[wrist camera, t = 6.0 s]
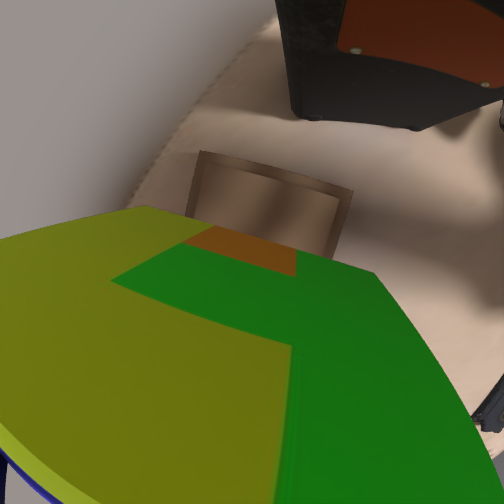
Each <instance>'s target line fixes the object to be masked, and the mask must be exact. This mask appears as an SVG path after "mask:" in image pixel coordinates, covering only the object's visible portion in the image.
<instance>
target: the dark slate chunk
mask: <svg viewBox="0 0 504 504" xmlns="http://www.w3.org/2000/svg"><path fill="white" fill-rule="evenodd" d="M471 418H472V421H473V422H480V423H481V431H483V432H494V433H499V432H501V431H502V429H503V428H504V374H503V376H502V377H501V379H500V380H499V382H498V383H497V384H496V386H495V387H494V388H493V390H492V391H491V393H490V394H489V395H488V396H487V398H486V399H485V400H484V402H483V403H482V404H481V405H480V407H479V408H478V409H477V410H476V411H475V413H474V414H473V415H472V416H471Z"/></svg>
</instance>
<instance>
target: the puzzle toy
mask: <svg viewBox="0 0 504 504" xmlns="http://www.w3.org/2000/svg"><path fill="white" fill-rule="evenodd" d="M0 453H1V454H2V455H3V456H4V457H5V459H6V460H7V461H8V463H9V464H10V465H11V467H12V468H13V469H14V470H15V471H16V472H17V473H18V474H19V475H20V476H21V477H22V478H23V479H24V480H25V481H26V482H27V483H28V484H29V485H30V486H31V487H32V488H33V489H34V490H35V491H36V492H38V493H39V494H40V495H41V496H43V497H44V498H45V499H46V500H48V501H49V502H50V503H51V504H504V490H503V487H502V484H501V482H500V479H499V477H498V474H497V472H496V469H495V467H494V465H493V462H492V460H491V458H490V455H489V453H488V451H487V449H486V447H485V445H484V443H483V440H482V438H481V436H480V434H479V432H478V430H477V428H476V426H475V425H474V423H473V421H472V419H471V417H470V415H469V413H468V411H467V410H466V408H465V406H464V404H463V402H462V401H461V399H460V397H459V395H458V394H457V392H456V390H455V389H454V387H453V385H452V384H451V382H450V380H449V379H448V377H447V375H446V374H445V372H444V371H443V369H442V367H441V366H440V364H439V363H438V361H437V360H436V358H435V356H434V355H433V353H432V352H431V350H430V349H429V347H428V346H427V344H426V343H425V341H424V340H423V338H422V337H421V336H420V334H419V333H418V331H417V330H416V328H415V327H414V326H413V324H412V323H411V321H410V320H409V318H408V317H407V316H406V314H405V313H404V312H403V310H402V309H401V307H400V306H399V305H398V303H397V302H396V301H395V299H394V298H393V297H392V295H391V294H390V293H389V292H388V290H387V289H386V288H385V286H384V285H383V284H382V282H381V281H380V280H379V279H378V277H377V276H376V275H375V274H374V273H373V272H369V271H366V270H363V269H360V268H357V267H353V266H350V265H347V264H344V263H341V262H337V261H334V260H331V259H328V258H324V257H321V256H318V255H315V254H311V253H308V252H305V251H301V250H298V249H295V248H291V247H288V246H285V245H281V244H278V243H275V242H271V241H268V240H265V239H261V238H258V237H254V236H251V235H248V234H244V233H241V232H237V231H234V230H230V229H227V228H224V227H220V226H217V225H213V224H210V223H206V222H203V221H199V220H196V219H192V218H189V217H185V216H181V215H178V214H174V213H171V212H167V211H164V210H160V209H156V208H153V207H149V206H140V207H135V208H129V209H124V210H119V211H114V212H109V213H104V214H99V215H94V216H90V217H85V218H81V219H76V220H72V221H68V222H64V223H59V224H55V225H51V226H47V227H43V228H40V229H35V230H32V231H28V232H24V233H21V234H18V235H14V236H10V237H7V238H3V239H0Z"/></svg>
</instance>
